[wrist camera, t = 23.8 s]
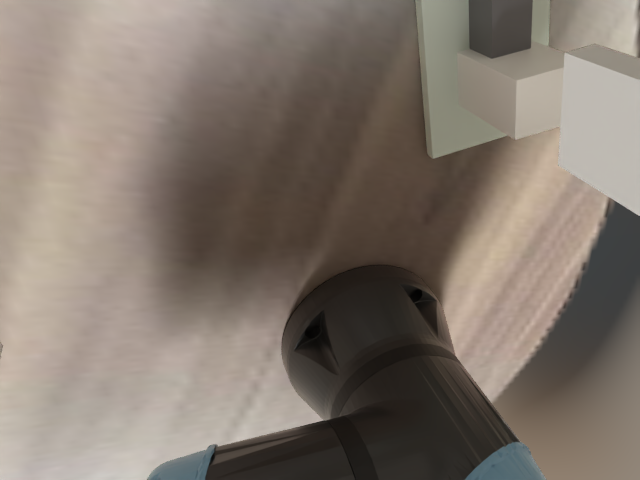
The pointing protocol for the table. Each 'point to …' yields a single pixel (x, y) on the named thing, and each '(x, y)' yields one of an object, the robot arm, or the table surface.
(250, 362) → the table surface
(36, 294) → the table surface
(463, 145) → the mat
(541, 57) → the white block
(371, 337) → the robot arm
